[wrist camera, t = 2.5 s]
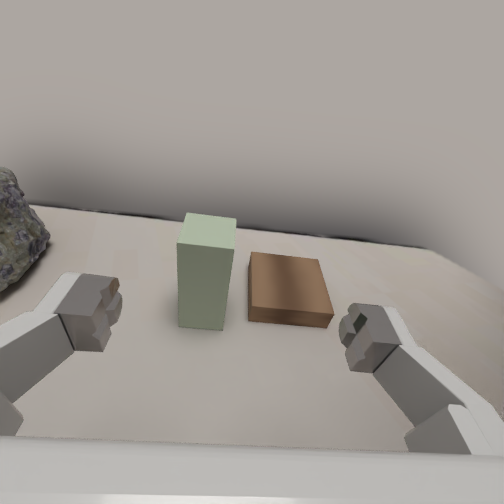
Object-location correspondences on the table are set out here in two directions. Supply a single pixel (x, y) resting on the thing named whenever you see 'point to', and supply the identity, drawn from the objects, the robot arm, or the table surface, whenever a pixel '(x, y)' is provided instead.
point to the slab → (287, 291)
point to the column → (204, 270)
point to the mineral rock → (17, 231)
